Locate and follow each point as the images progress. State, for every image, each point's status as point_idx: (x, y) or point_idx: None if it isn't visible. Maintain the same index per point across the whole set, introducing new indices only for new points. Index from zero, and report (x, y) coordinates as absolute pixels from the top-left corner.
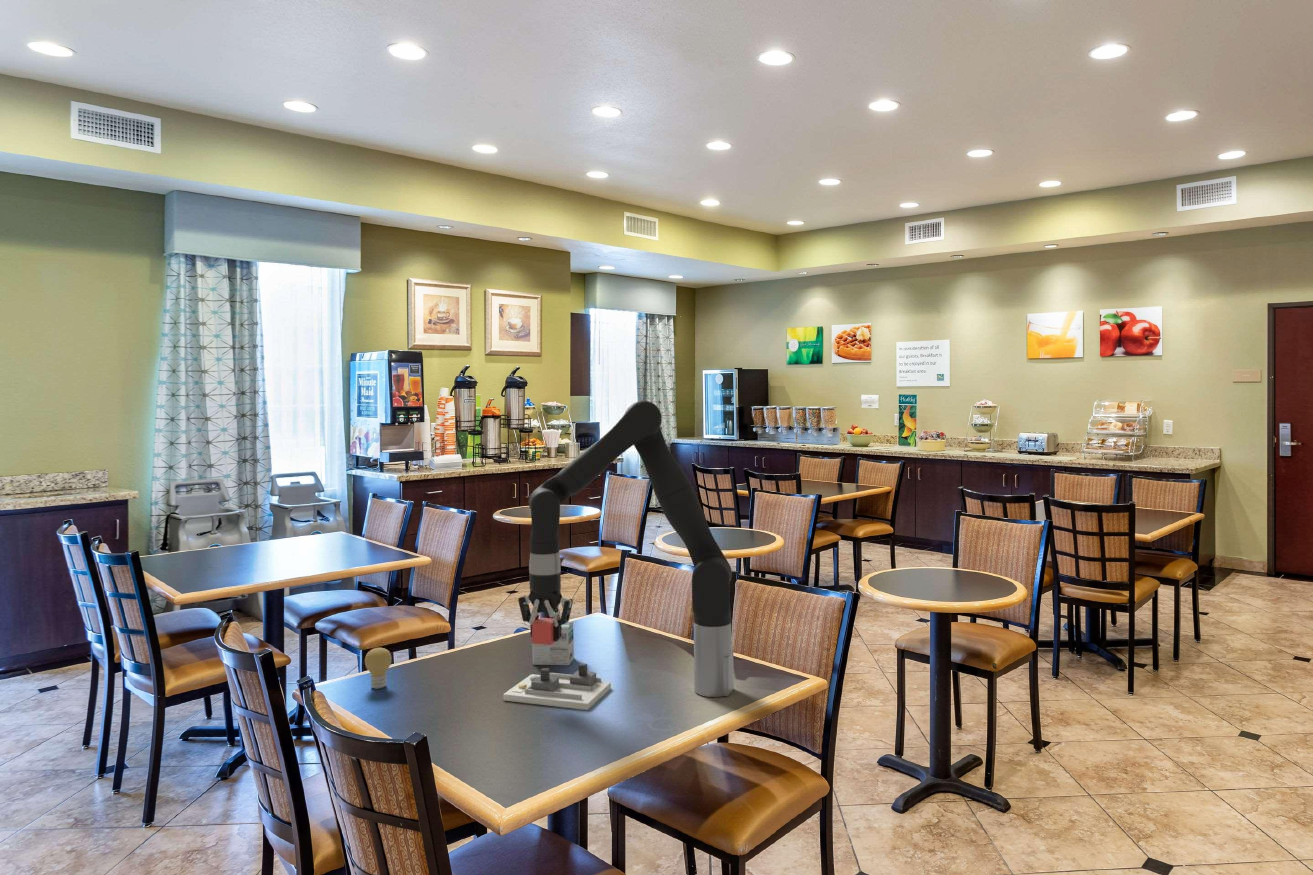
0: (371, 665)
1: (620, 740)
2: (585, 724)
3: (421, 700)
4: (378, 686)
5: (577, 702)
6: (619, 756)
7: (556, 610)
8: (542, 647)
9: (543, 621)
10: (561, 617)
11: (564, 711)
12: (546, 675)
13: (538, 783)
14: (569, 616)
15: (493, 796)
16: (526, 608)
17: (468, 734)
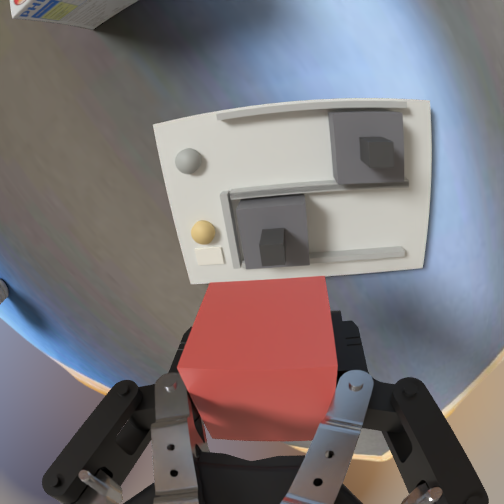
0: None
1: (482, 340)
2: (428, 319)
3: (77, 316)
4: (7, 296)
5: (398, 269)
6: (479, 372)
7: (333, 456)
8: (88, 4)
9: (256, 420)
10: (392, 450)
11: (369, 284)
12: (285, 255)
13: None
14: (436, 409)
15: (364, 453)
16: (121, 461)
17: None
